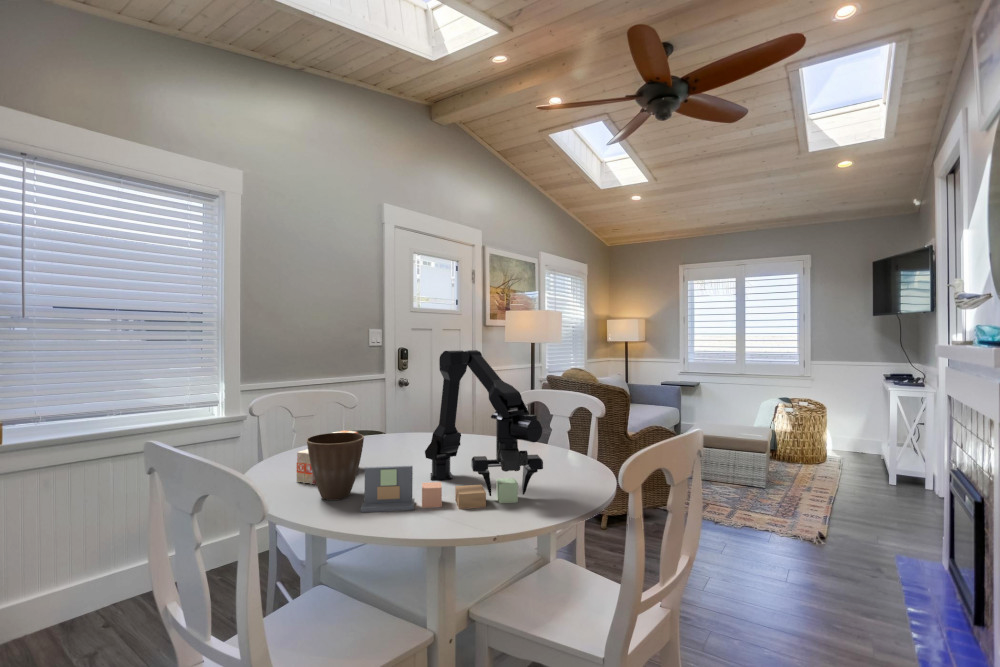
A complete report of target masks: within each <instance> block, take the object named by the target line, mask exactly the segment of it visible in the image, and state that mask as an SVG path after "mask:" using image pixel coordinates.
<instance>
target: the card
mask: <svg viewBox="0 0 1000 667" xmlns="http://www.w3.org/2000/svg"><path fill="white" fill-rule="evenodd" d="M413 470H414V469H413V465H391V466H389V465H388V466H365V467H364V500H363V502H362V504H361V507H360V513H373V512H374V513H375V512H378V513H379V512H396V511H414V510H415V504H416V503H415V498H413V482H414V481H413V479H414V477H413V474H414V473H413Z"/></svg>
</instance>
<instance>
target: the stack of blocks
mask: <svg viewBox="0 0 1000 667" xmlns="http://www.w3.org/2000/svg"><path fill="white" fill-rule="evenodd" d="M332 433H358V434H359V431H354V430H339V431H334V432H332ZM297 482H303V483H302V484H305V483H310V484H309V485H312V484H313V483H315V484H316V482H315V479H314V475H313V472H312V468H311V463H310V458H309V453H308V448H307V449H303V450H300V451H297V452H296V483H297ZM313 485H314V484H313Z"/></svg>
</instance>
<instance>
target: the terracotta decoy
mask: <svg viewBox="0 0 1000 667" xmlns="http://www.w3.org/2000/svg"><path fill="white" fill-rule="evenodd" d="M442 490H443V488H442V481H437V482H422V483H421V508H422V509H424V508H427V509H428V508H442V506H443V504H442V503H443V498H442V496H443V493H442V492H443V491H442Z"/></svg>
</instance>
